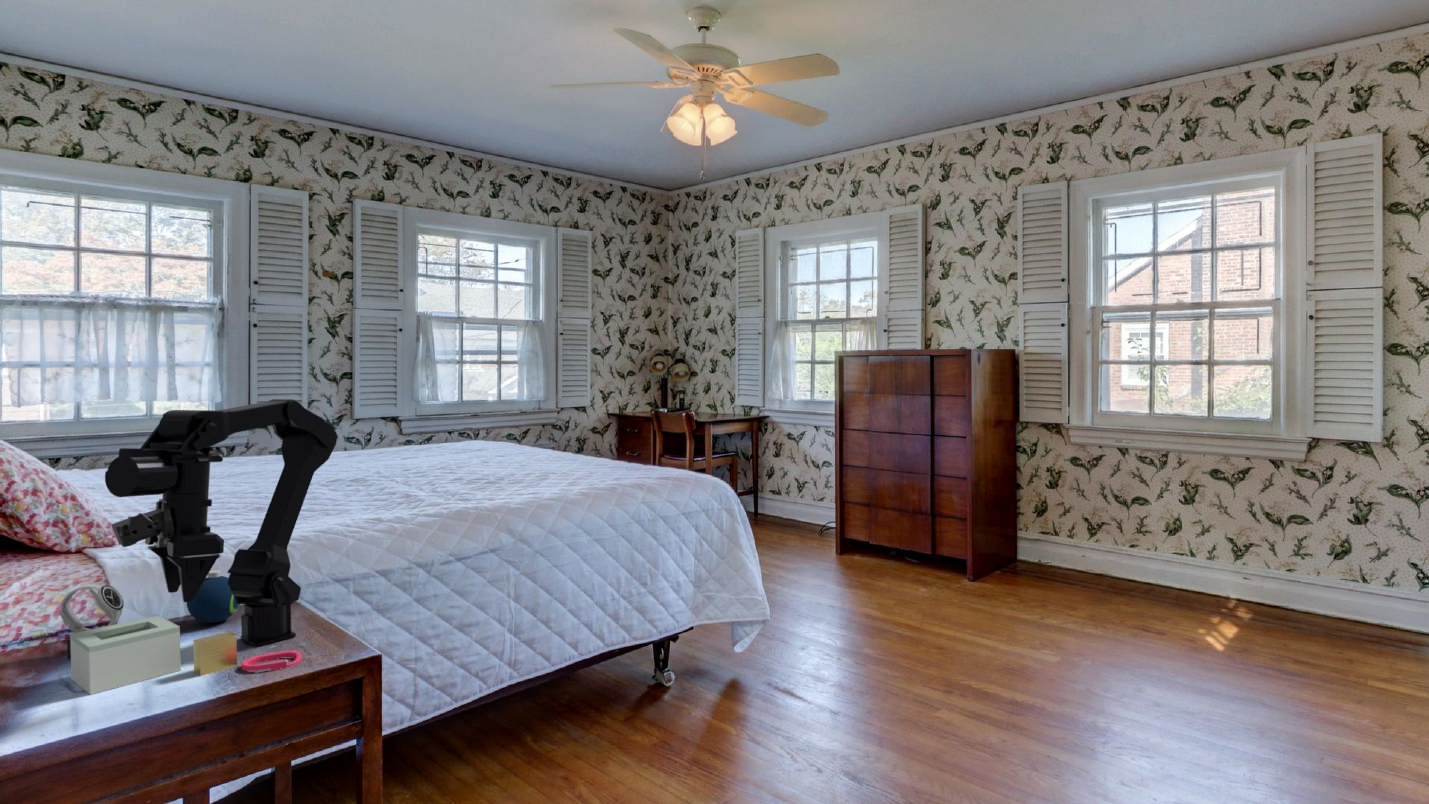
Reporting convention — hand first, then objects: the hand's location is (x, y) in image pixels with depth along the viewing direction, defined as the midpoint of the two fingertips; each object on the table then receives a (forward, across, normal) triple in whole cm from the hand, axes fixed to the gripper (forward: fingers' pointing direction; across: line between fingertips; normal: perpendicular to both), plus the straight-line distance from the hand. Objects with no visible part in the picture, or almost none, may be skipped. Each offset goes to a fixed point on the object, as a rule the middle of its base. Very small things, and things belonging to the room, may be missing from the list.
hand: (180, 596), depth 114 cm
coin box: (+12, -7, -5) cm, 15 cm away
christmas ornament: (+10, -26, +11) cm, 30 cm away
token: (+12, 0, +5) cm, 13 cm away
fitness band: (+12, +4, +12) cm, 17 cm away
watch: (+12, -23, -6) cm, 26 cm away
